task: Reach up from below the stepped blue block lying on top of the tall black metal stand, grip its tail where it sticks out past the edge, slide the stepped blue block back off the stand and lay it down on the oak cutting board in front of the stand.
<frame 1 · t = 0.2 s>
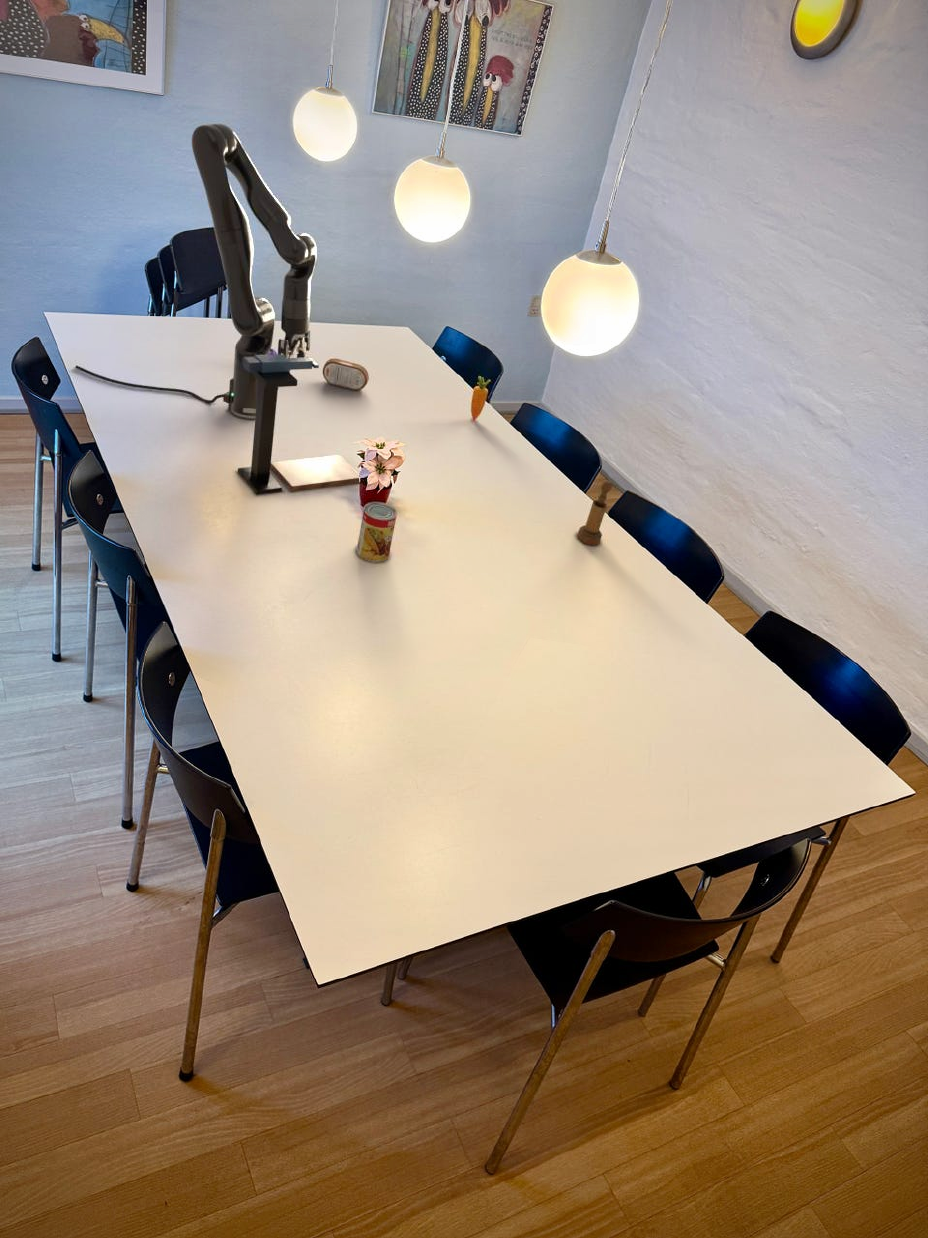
hand: (293, 371, 248), 17 cm above the table, tool pointing down, fingers open, 8 cm apart
stand: (259, 482, 230), on the table
tin: (343, 387, 291), on the table
board: (316, 475, 239), on the table
canned food: (372, 553, 215), on the table
carrot: (473, 420, 292), on the table
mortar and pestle: (588, 539, 244), on the table
stepped blue block: (303, 367, 217), point 31 cm above the table, touching stand
pudding: (266, 366, 291), on the table
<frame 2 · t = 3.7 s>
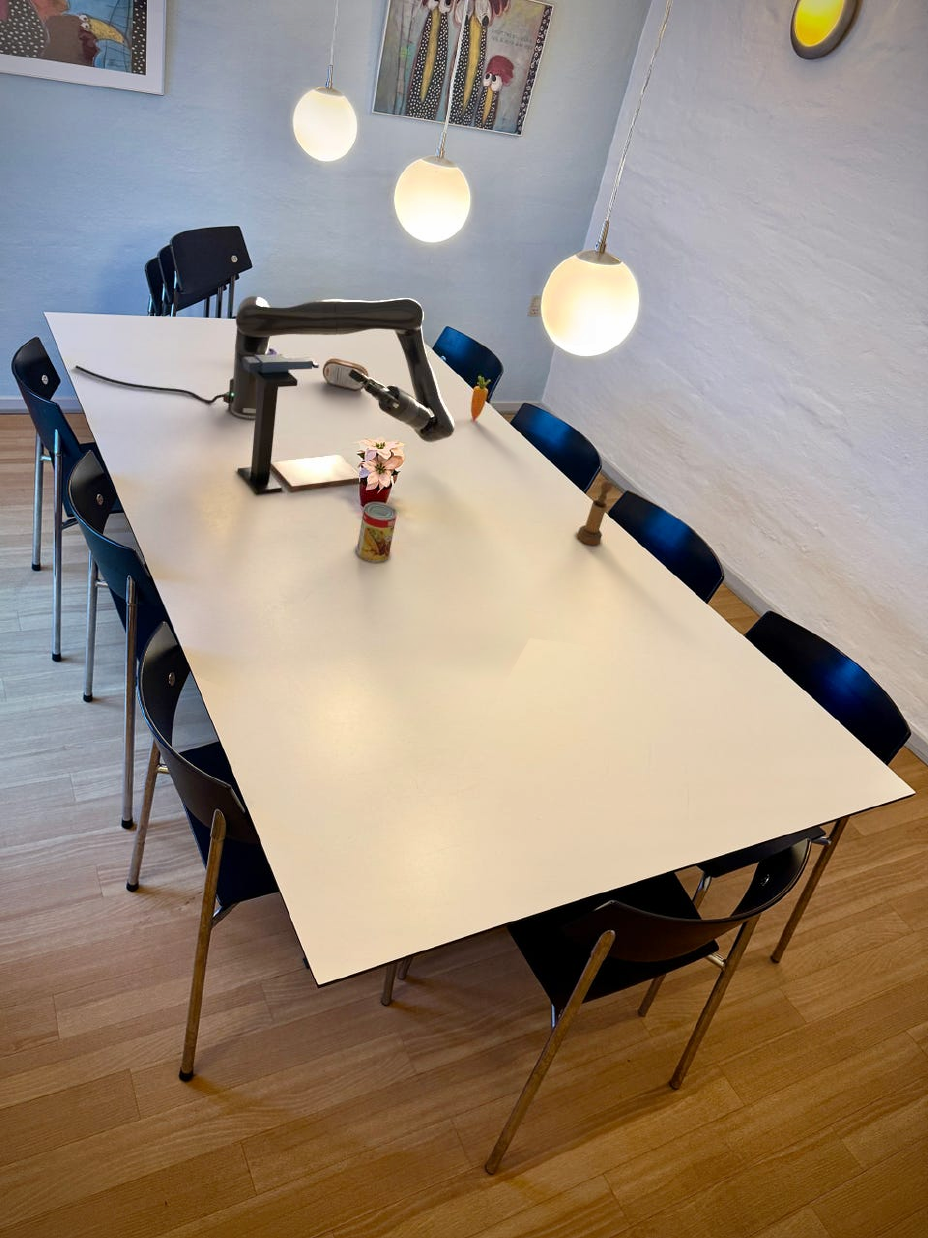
hand: (358, 379, 229), 27 cm above the table, tool pointing upward, fingers open, 8 cm apart
nothing on the table moved.
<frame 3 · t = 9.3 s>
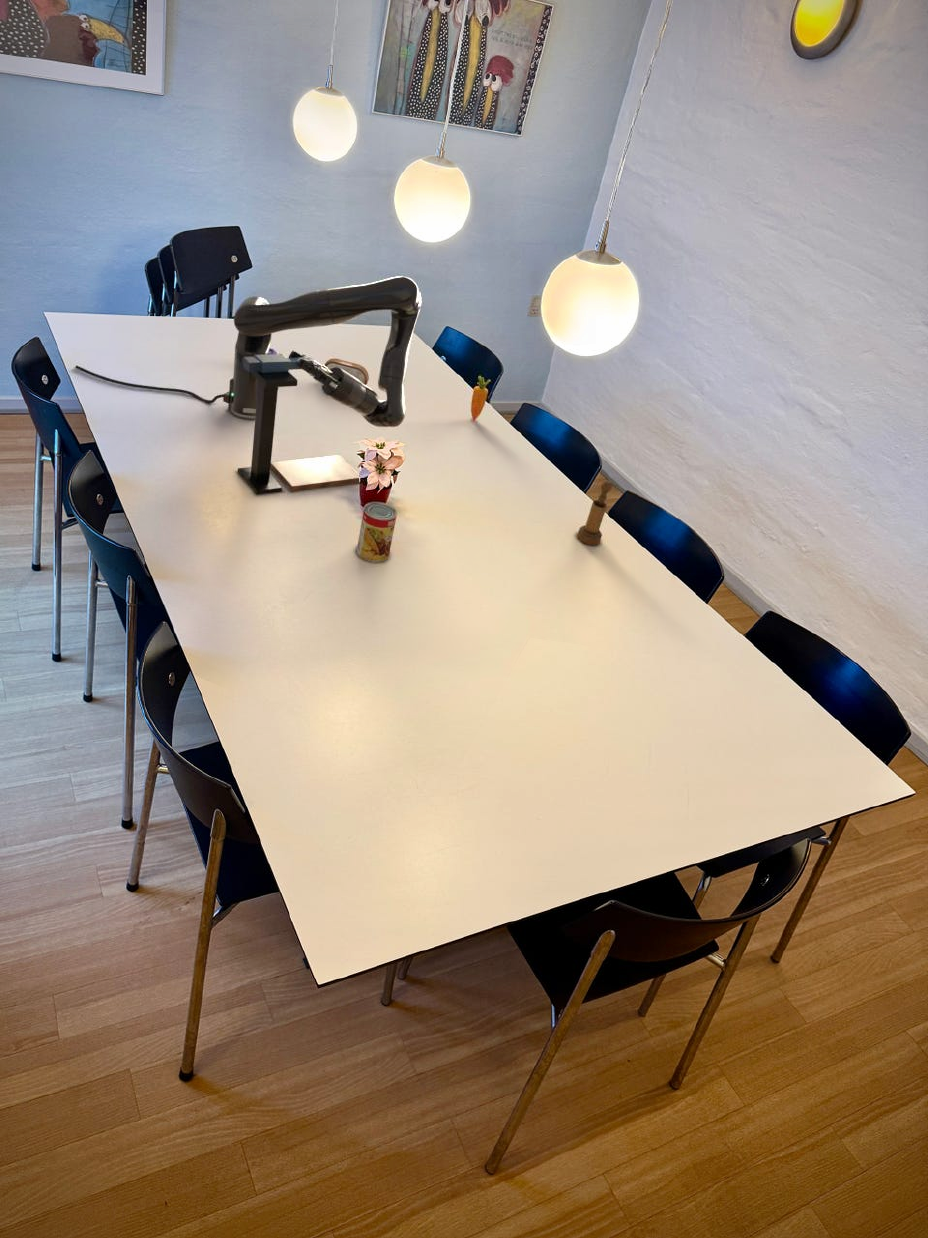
hand: (295, 358, 214), 33 cm above the table, tool pointing upward, fingers closed on stepped blue block, 4 cm apart
stepped blue block: (303, 367, 217), point 31 cm above the table, touching gripper, stand
everything else where it was.
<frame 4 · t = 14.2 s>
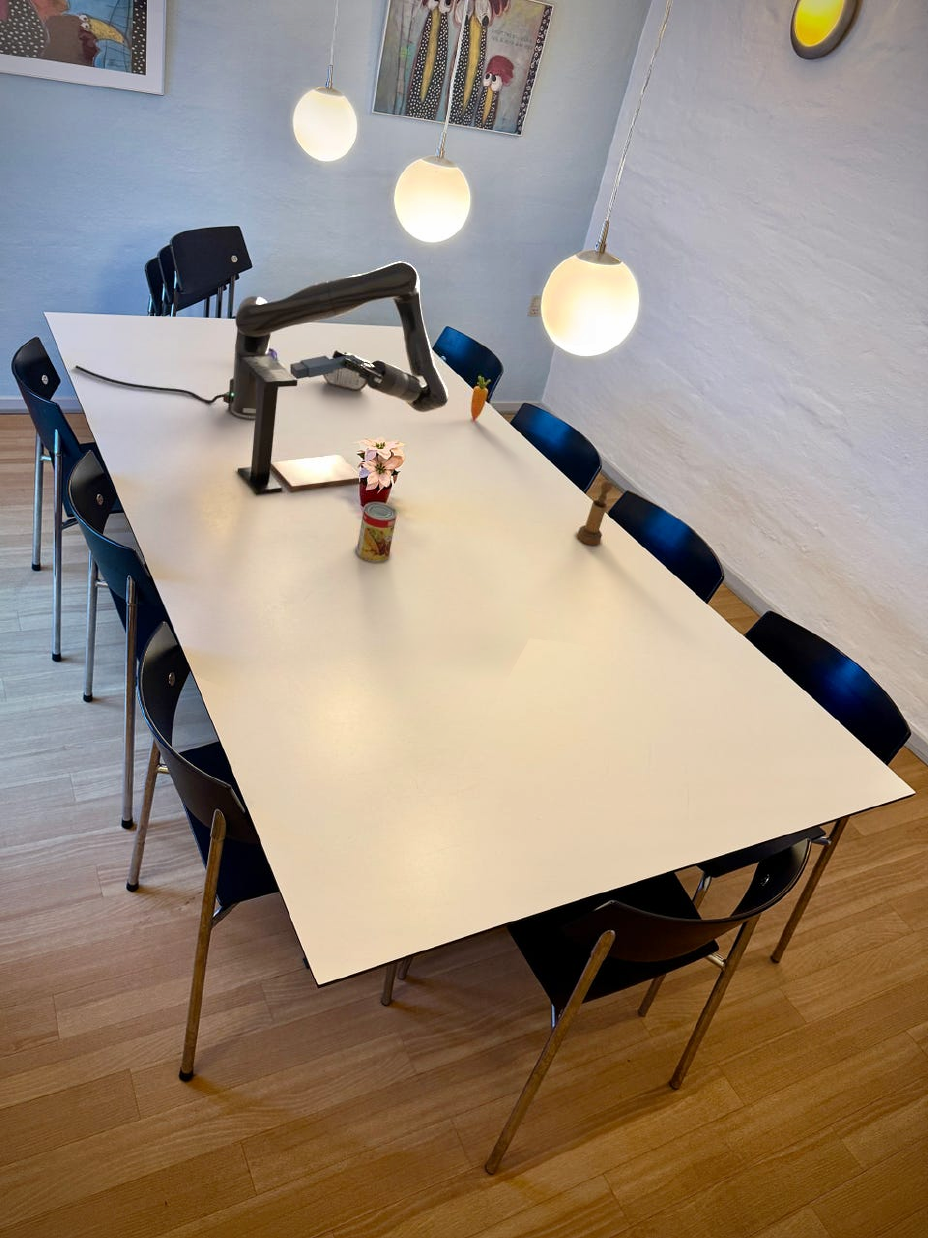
hand: (339, 358, 221), 33 cm above the table, tool pointing upward, fingers closed on stepped blue block, 4 cm apart
stepped blue block: (347, 365, 224), point 31 cm above the table, tilted 8°, touching gripper
everything else where it was.
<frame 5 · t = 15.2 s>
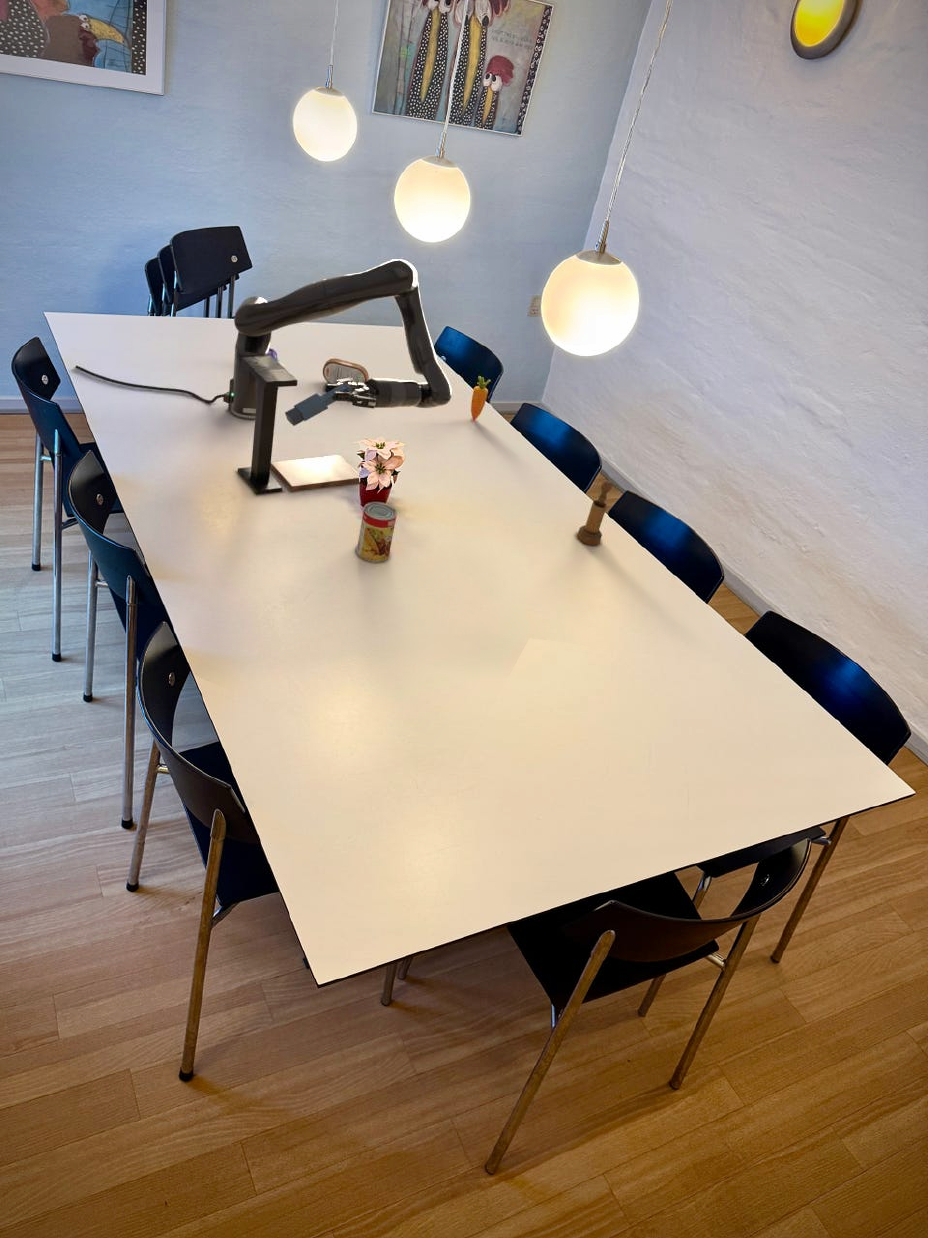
hand: (330, 392, 226), 24 cm above the table, tool horizontal, fingers closed on stepped blue block, 4 cm apart
stepped blue block: (340, 395, 228), point 23 cm above the table, tilted 26°, touching gripper
everything else where it was.
when the fingers open (10 cm above the table, at t = 19.4 s): stepped blue block drops 8 cm, resting on board.
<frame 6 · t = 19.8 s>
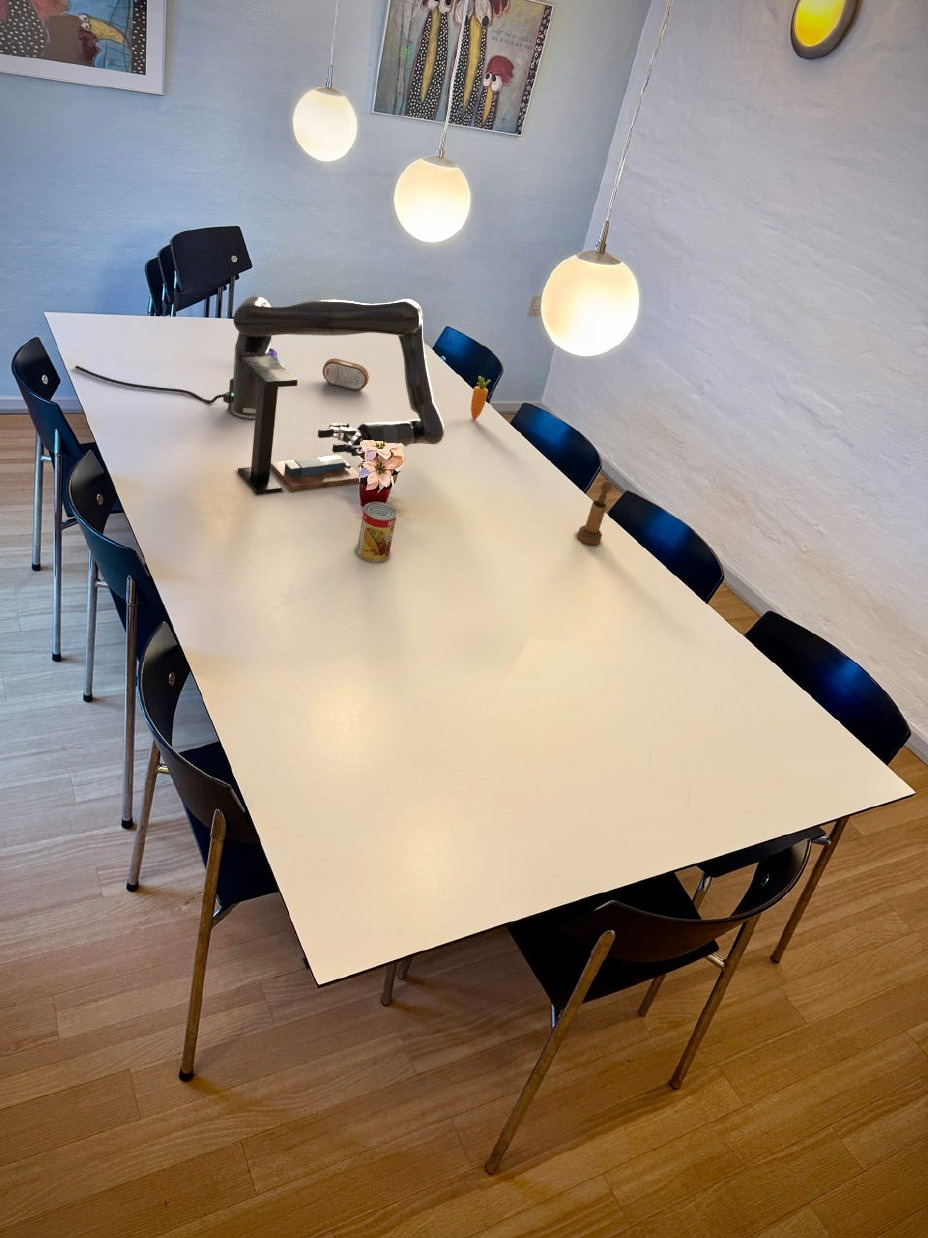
hand: (325, 441, 234), 10 cm above the table, tool horizontal, fingers open, 8 cm apart
stepped blue block: (336, 467, 242), point 2 cm above the table, touching board
everything else where it was.
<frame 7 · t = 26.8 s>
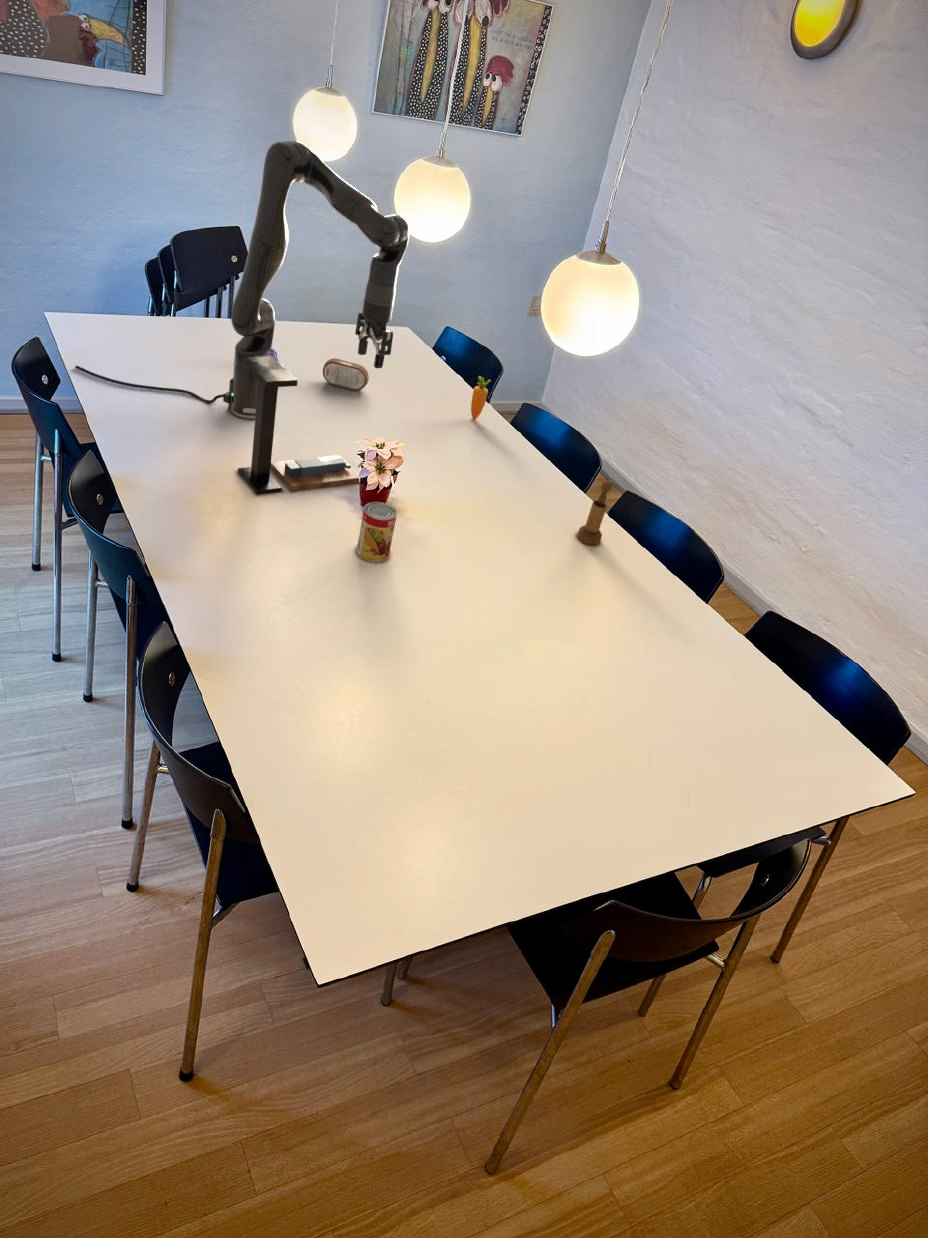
hand: (369, 361, 232), 30 cm above the table, tool pointing down, fingers open, 8 cm apart
nothing on the table moved.
at the end: stepped blue block touching board; stepped blue block inside the target area on the board (0.0 cm from its centre), point 1.6 cm above the board's base; stepped blue block tilted 0° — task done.
